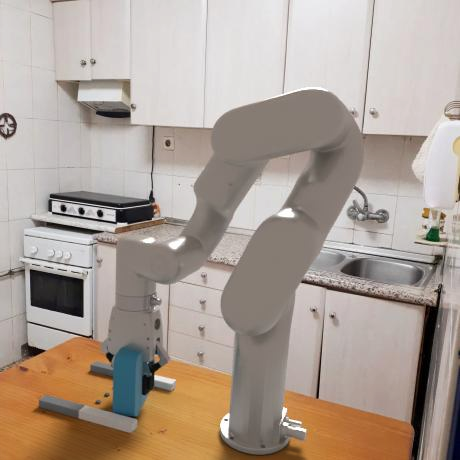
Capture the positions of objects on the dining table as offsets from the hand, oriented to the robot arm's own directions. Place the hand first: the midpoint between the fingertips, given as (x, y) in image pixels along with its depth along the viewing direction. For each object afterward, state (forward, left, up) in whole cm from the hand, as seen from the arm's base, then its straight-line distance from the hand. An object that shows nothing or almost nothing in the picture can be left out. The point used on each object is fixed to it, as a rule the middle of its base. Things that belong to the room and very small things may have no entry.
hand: (133, 387), depth 90 cm
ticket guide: (+5, 0, -3) cm, 6 cm away
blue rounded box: (0, 0, -3) cm, 3 cm away
